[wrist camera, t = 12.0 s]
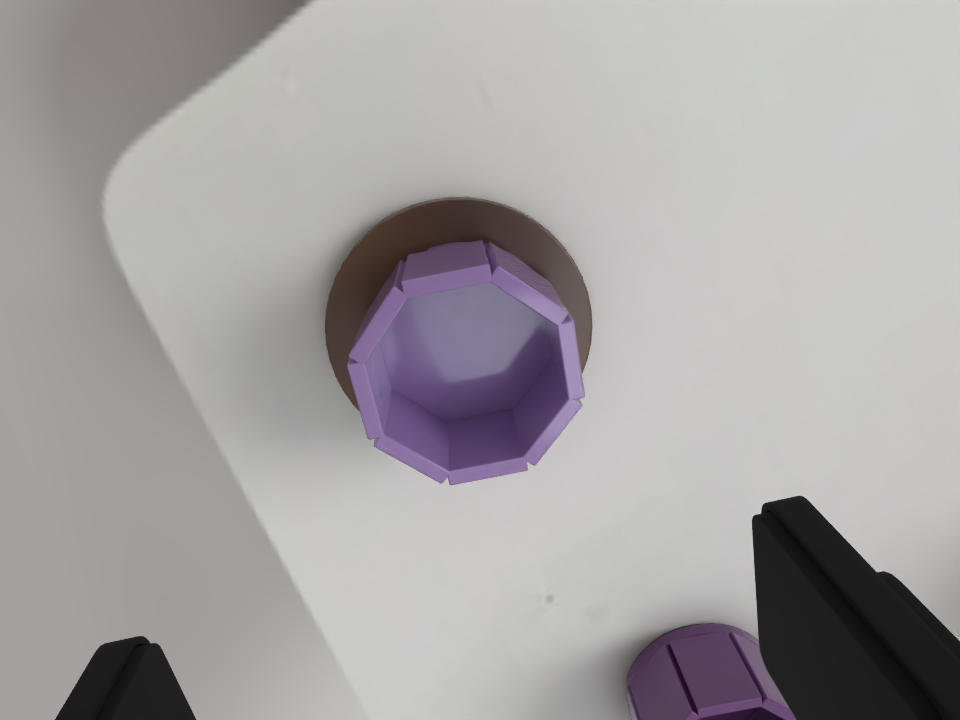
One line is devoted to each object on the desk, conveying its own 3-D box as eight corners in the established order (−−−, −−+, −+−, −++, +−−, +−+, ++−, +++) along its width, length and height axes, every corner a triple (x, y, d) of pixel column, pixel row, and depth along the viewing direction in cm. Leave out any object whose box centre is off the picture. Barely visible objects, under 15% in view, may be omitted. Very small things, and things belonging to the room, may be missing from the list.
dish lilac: (393, 437, 24) (384, 498, 20) (346, 263, 22) (326, 296, 18) (570, 402, 24) (594, 458, 20) (542, 223, 22) (563, 248, 18)
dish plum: (633, 746, 31) (660, 834, 27) (617, 638, 29) (643, 719, 25) (772, 720, 31) (818, 806, 27) (767, 610, 28) (816, 686, 25)
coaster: (364, 466, 25) (362, 475, 24) (295, 227, 22) (291, 230, 21) (604, 420, 25) (607, 427, 24) (569, 172, 22) (573, 173, 21)
